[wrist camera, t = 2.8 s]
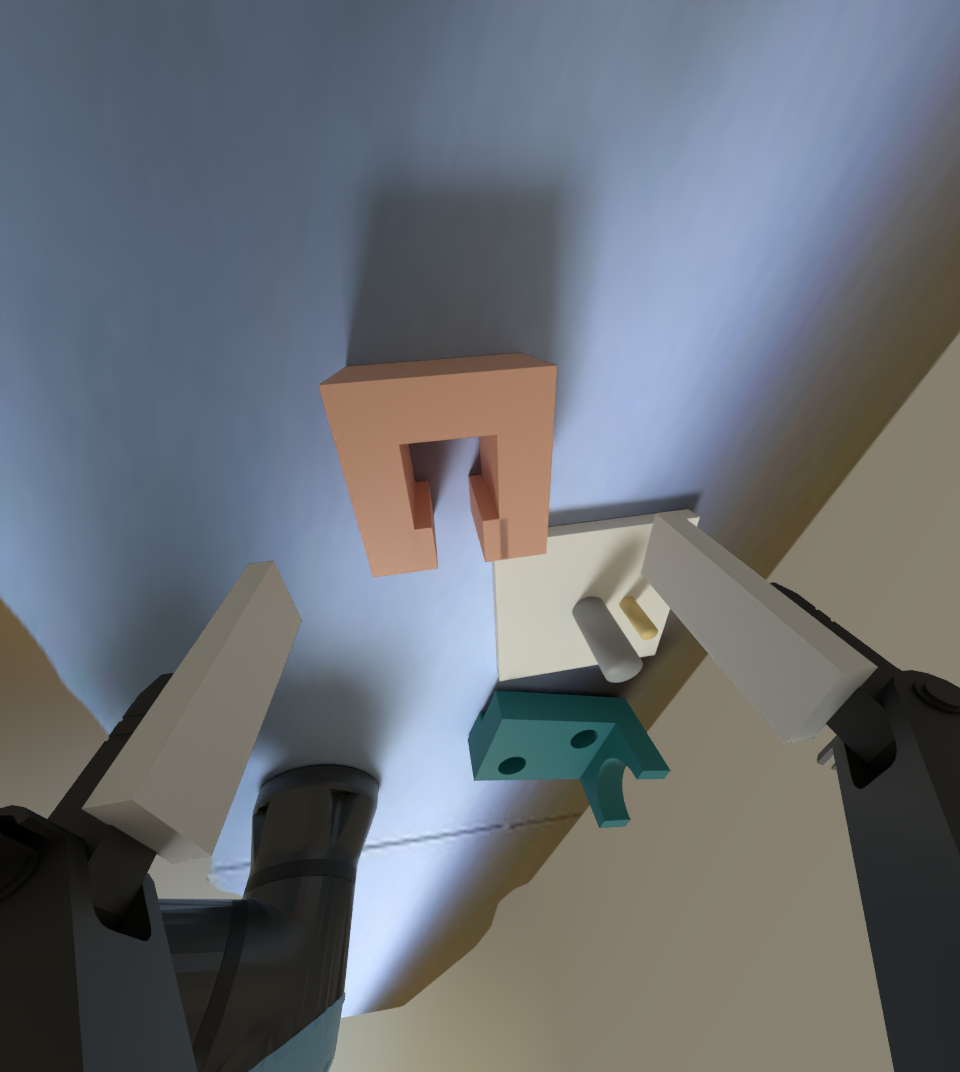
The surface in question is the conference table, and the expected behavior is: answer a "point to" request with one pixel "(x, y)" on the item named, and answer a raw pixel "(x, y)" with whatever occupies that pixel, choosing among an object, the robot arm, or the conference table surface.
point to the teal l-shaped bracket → (565, 746)
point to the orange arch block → (441, 414)
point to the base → (564, 585)
